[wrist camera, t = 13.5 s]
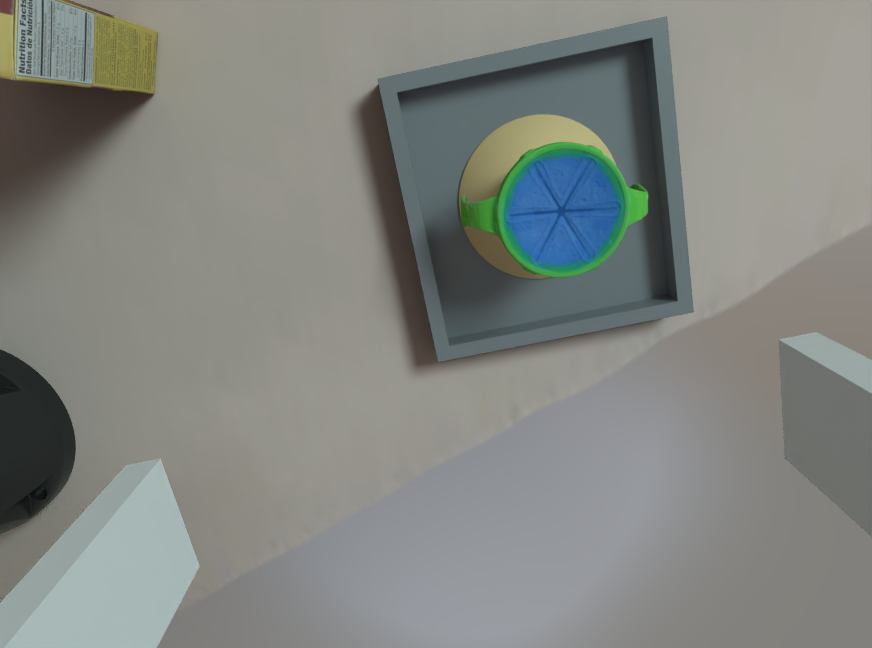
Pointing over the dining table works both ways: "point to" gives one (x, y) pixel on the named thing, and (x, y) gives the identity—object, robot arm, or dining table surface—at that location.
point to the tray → (499, 151)
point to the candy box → (75, 46)
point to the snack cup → (560, 209)
